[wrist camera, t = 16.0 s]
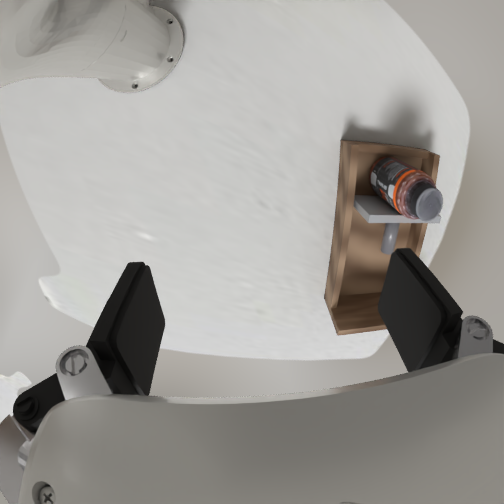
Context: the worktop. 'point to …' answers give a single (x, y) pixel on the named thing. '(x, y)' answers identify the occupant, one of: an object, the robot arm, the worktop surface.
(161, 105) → the worktop surface
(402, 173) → the supplement bottle
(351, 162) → the pusher lane
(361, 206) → the pusher plate
